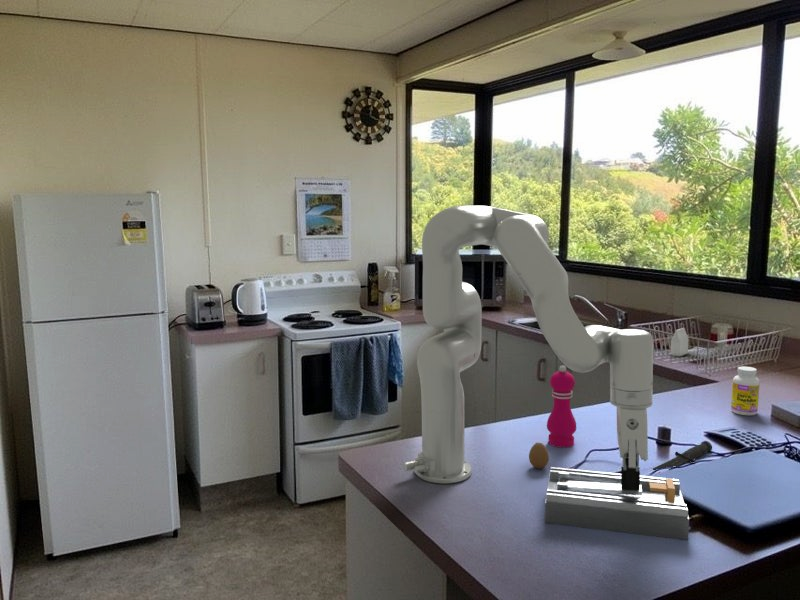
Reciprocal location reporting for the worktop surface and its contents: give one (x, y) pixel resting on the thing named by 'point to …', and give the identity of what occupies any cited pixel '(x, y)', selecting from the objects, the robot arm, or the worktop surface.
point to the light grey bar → (600, 488)
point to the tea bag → (679, 343)
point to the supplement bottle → (745, 392)
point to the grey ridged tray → (615, 506)
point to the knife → (687, 455)
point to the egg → (538, 456)
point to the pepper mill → (561, 410)
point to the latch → (665, 489)
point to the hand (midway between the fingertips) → (630, 488)
